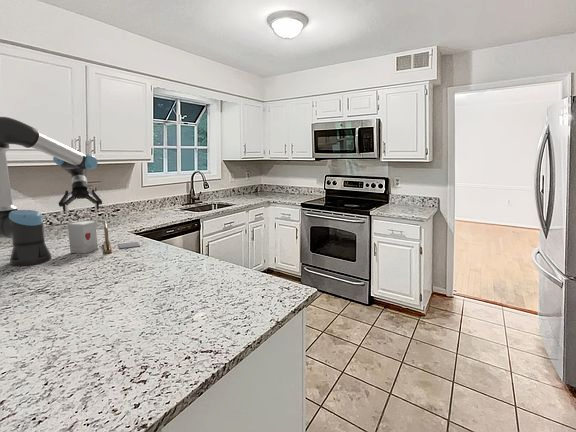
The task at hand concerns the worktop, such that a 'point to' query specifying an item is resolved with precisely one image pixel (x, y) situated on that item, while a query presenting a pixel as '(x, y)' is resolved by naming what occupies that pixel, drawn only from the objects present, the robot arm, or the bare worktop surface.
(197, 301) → the worktop surface
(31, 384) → the worktop surface
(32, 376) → the worktop surface
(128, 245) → the mat
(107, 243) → the cabinet door handle
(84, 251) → the supplement box
